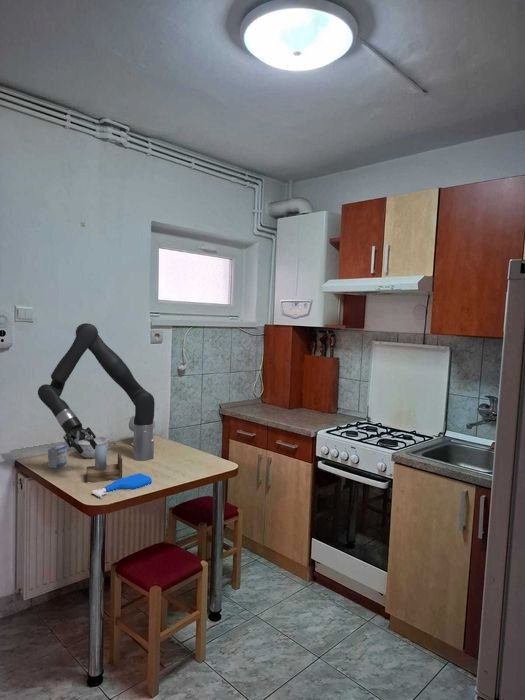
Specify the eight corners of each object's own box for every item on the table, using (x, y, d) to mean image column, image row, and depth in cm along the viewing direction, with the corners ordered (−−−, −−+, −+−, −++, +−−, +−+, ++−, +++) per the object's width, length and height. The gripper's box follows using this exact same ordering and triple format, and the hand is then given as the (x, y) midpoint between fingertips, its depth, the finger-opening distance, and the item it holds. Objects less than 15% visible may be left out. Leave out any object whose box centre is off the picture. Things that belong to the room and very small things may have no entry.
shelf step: (119, 472, 213) (119, 452, 212) (122, 479, 203) (122, 459, 203) (86, 475, 207) (86, 455, 207) (87, 483, 198) (87, 462, 198)
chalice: (129, 448, 251) (129, 420, 250) (127, 441, 265) (127, 415, 264) (156, 446, 256) (156, 419, 255) (153, 440, 269) (153, 414, 268)
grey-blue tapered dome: (100, 466, 208) (100, 444, 207) (108, 468, 206) (108, 445, 205) (92, 469, 203) (92, 446, 203) (101, 471, 202) (101, 447, 201)
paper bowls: (71, 454, 238) (71, 439, 238) (101, 449, 248) (101, 434, 248) (83, 461, 227) (82, 445, 226) (113, 456, 237) (113, 440, 236)
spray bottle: (138, 471, 206) (86, 487, 187) (154, 477, 199) (102, 494, 180) (138, 478, 207) (86, 494, 188) (154, 484, 200) (102, 502, 181)
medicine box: (56, 468, 216) (56, 449, 215) (47, 467, 217) (47, 449, 216) (66, 463, 224) (66, 445, 223) (58, 462, 225) (58, 444, 224)
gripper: (61, 419, 202) (82, 449, 199) (85, 413, 215) (105, 441, 212) (51, 429, 204) (72, 459, 201) (76, 423, 218) (95, 451, 214)
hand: (89, 450), depth 206 cm, fingers open, 8 cm apart
